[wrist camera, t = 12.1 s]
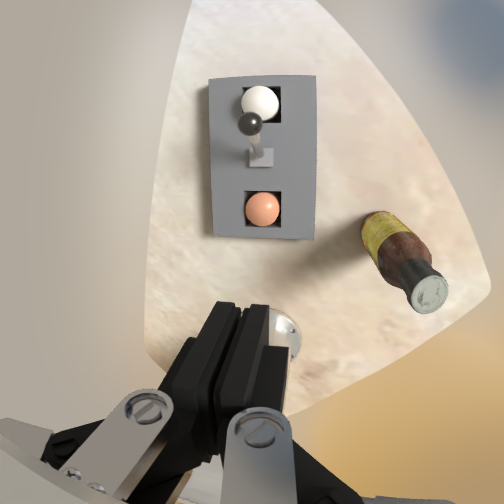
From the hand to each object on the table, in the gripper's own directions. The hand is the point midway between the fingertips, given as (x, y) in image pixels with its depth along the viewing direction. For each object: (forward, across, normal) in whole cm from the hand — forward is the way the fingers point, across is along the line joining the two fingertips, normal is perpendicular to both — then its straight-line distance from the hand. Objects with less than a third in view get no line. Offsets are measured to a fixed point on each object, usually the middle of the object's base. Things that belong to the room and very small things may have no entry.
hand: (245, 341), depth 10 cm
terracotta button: (+35, +4, +3) cm, 35 cm away
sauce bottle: (+35, -13, +6) cm, 38 cm away
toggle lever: (+31, +4, -4) cm, 32 cm away
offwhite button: (+34, +4, -11) cm, 36 cm away
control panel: (+35, +4, -4) cm, 36 cm away
